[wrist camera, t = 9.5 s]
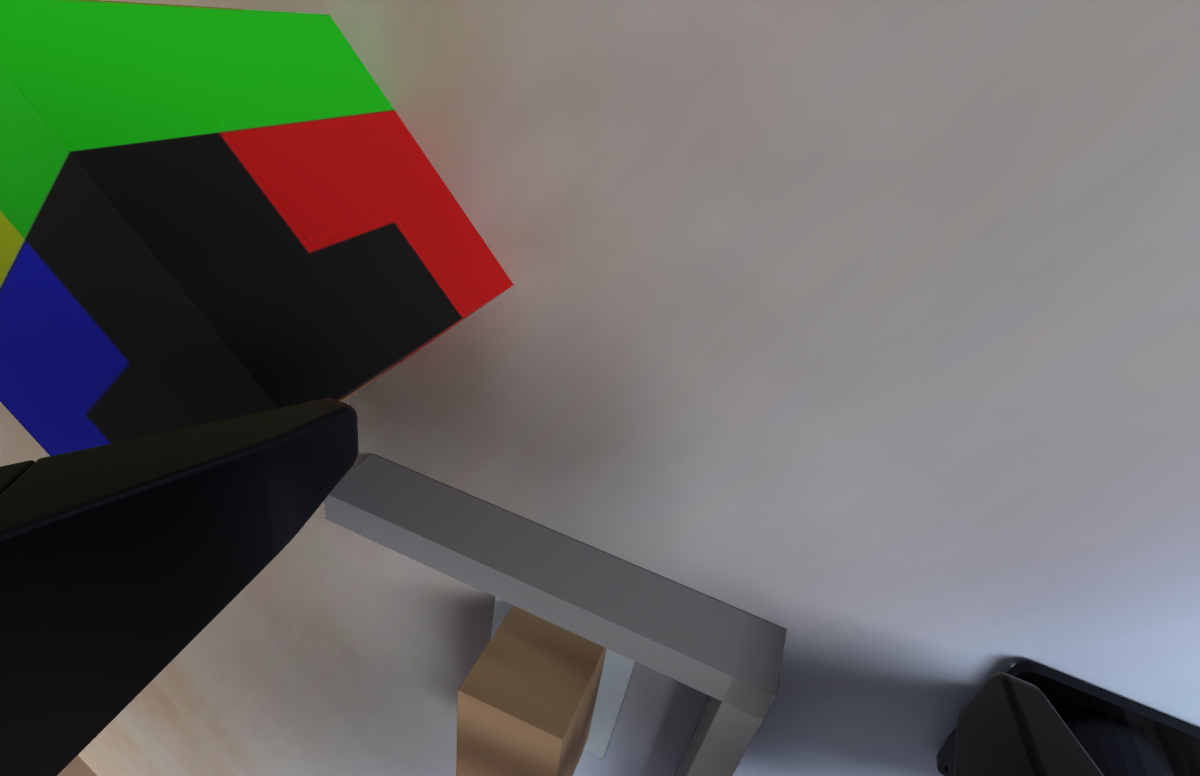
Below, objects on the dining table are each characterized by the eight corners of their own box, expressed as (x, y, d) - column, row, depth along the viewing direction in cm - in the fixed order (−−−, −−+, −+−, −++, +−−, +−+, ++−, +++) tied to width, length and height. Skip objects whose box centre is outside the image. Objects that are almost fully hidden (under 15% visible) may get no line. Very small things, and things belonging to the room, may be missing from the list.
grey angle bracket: (786, 629, 24) (776, 696, 22) (680, 833, 33) (664, 897, 30) (371, 453, 28) (323, 492, 26) (377, 676, 37) (342, 721, 35)
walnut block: (588, 738, 32) (544, 841, 27) (508, 701, 33) (456, 795, 29) (609, 636, 27) (562, 739, 23) (517, 597, 29) (457, 690, 24)
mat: (645, 632, 27) (643, 637, 27) (604, 754, 32) (602, 760, 32) (501, 568, 29) (498, 572, 28) (485, 694, 34) (482, 699, 34)
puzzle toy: (356, 392, 27) (129, 543, 19) (199, 189, 25) (-131, 258, 17) (514, 284, 22) (293, 428, 13) (330, 14, 20) (-61, -10, 11)
